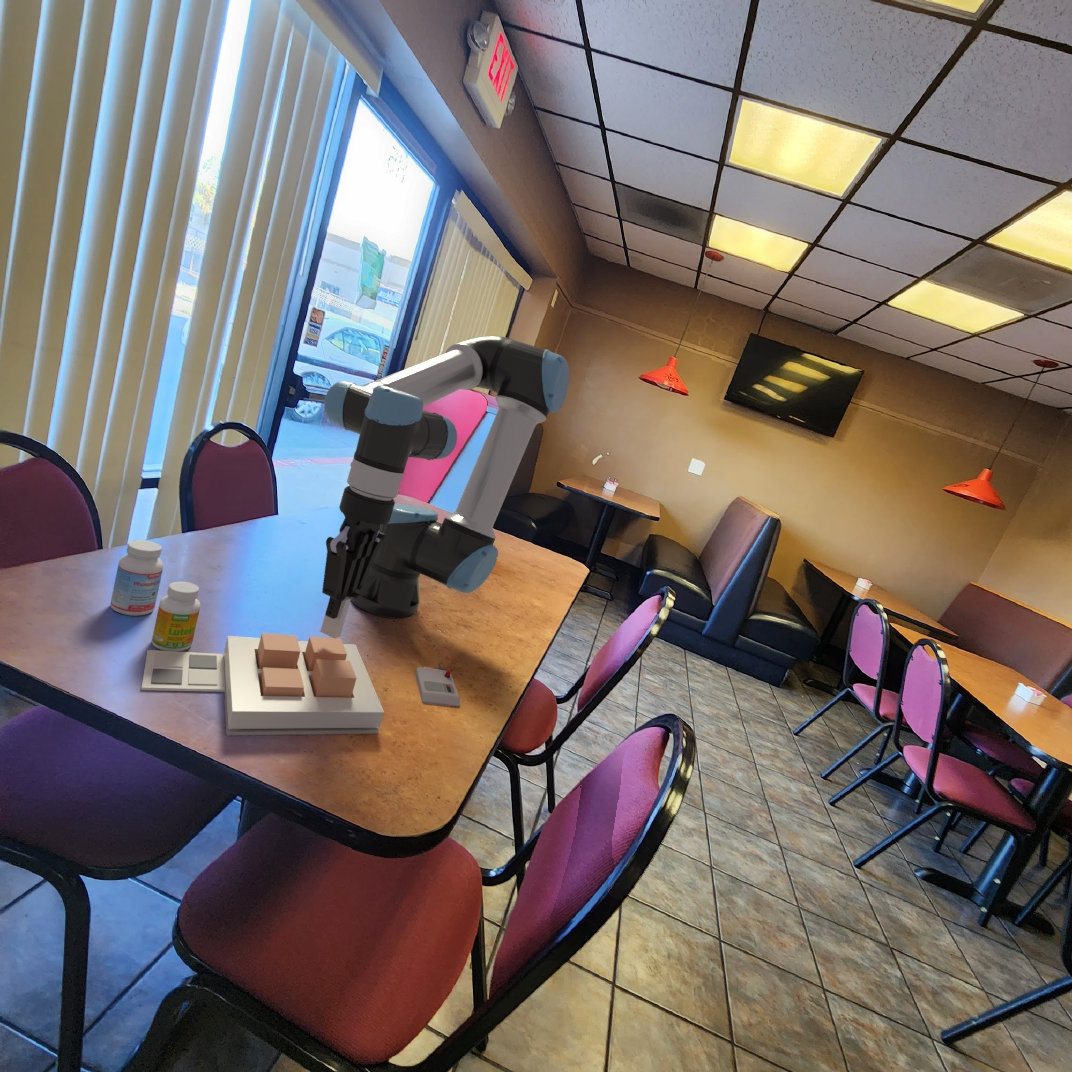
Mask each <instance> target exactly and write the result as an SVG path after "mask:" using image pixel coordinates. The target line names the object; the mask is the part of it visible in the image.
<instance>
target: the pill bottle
mask: <svg viewBox="0 0 1072 1072" xmlns="http://www.w3.org/2000/svg"><path fill="white" fill-rule="evenodd" d="M126 547H127V548H126V553H127V554H125V555H122V556H121V557H120V559H119V560H118V564H117V568H116V569H117V570H116V574H115V579H114V583H113V588H112V589H113V590H112V595H111V600H110V608H111V610H114V611H115V612H117V613H119V614H122V615H126V616H135V617H136V616H137V617H138V616H144V615H147V614H150V613H152V612H153V611H154V610H155V607H156V603H157V597H158V594H159V590H160V589H159V588H160V585H161V579H162V575H163V570H164V562H163V561H162V559H160V557H161V554H162V550H163V547H162V546H161V544H158V543H157V542H154V541H150V540H143V539H142V540H141V539H137V540H131V541H129V542H127V546H126Z"/></svg>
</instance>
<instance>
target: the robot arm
mask: <svg viewBox="0 0 1072 1072" xmlns="http://www.w3.org/2000/svg"><path fill="white" fill-rule="evenodd" d="M569 381H570V369H569V364H568V361H567V360H566V359H565V357H564V356H562V355H560V354H558V353H555V352H552V351H550V350H549V349H543V348H540V347H537V346H534V345H532V344H531V345H530V344H528V343H524V342H522V341H518V340H515V339H512V338H509V337H506V336H499V335H491V336H490V335H489V336H487V335H486V336H481V337H480V336H479V337H475V338H471V339H466V340H461V341H459V342H457V343H453V344H452V345H450V346H449V347H448V348H447V349H446V351H445V353H443V354H440V355H438V356H435V357H432V358H430V359H427V360H425V361H422V362H419V363H416V364H415V365H411V366H410V367H407V368H404V369H402V370H400V371H396V372H394V373H392V374H389V375H387V376H384V377H382V378H379V379H376V380H374V381H371V382H367V383H366V384H363V385H358V384H356V383H355V382H350V381H344V380H341V381H337V382H335V383H333V385H331V386H330V387H329V388H328V390H327V392H326V393H325V396H324V397H325V398H324V401H323V404H324V413H325V416H326V418H327V419H328V420H329V421H330V422H331V423H333V424H335V425H337V426H339V427H341V428H343V429H344V430H346V431H350V432H353V433H355V434H358V435H359V436H358V441H357V445H356V449H355V451H354V455H353V458H352V461H351V462H350V465H349V466H350V468H349V473H348V475H347V479H346V483H347V486H346V487H344V489H343V493H342V497H341V500H340V504H339V507H338V508H339V511H340V512H341V513H342V514H343V516H344V520H343V521H342V524H341V525H340V528H339V534H338V535H337V536H335V537H332V536H328V537H327V538H326V540H325V546H326V551H327V552H326V559H325V566H324V573H323V574H324V575H323V582H322V591H321V593H322V594H323V595H326V596H328V597H329V600H328V603H327V606H326V611H325V614H324V618H323V621H322V624H321V627H320V631H319V632H320V633H322V634H323V635H326V636H328V637H329V638H339V637H341V635H342V631H343V627H344V625H345V621H346V618H347V614H348V611H349V608H350V604H351V602H352V603H353V605H355V606H356V607H357V608H359V609H361V610H363V611H365V612H368V613H370V614H373V615H375V616H378V617H384V618H389V619H408V618H411V617H413V615H414V616H415V615H416V614H417V612H418V608H419V606H420V590H419V589H420V586H419V585H420V584H419V581H420V580H419V579H420V575H423V576H425V577H427V578H429V579H432V580H433V581H436V582H438V583H440V584H442V585H444V586H446V588H448V589H452V590H455V591H458V592H460V593H463V594H470V593H472V592H474V591H476V590H477V589H479V588H480V587H481V586H482V585H483V584H484V583H485V582H486V580H487V579H488V578H489V576H490V575H491V573H492V571H493V570H494V568H495V566H496V564H497V560H498V557H499V550H498V548H497V547H496V546H495V545H494V543H495V540H496V539H497V537H496V535H495V532H494V529H493V528H494V524H495V522H496V520H497V517H498V516H499V514H500V511H501V508H502V506H503V503H504V501H505V499H506V497H507V495H508V492H509V490H510V488H511V485H512V482H513V480H514V478H515V475H516V473H517V471H518V468H519V465H520V463H521V461H522V459H523V456H524V455H525V452H526V450H527V447H528V444H529V443H530V439H531V438H532V435H533V432H534V430H535V429H536V426H537V425H538V424H540V423H543V422H546V421H547V418H548V415H549V413H552V414H553V413H558V412H559V411H560V410H561V408H563V405H564V402H565V401H566V397H567V393H568V390H569V389H568V387H569ZM475 388H480V389H485V390H489V391H492V392H494V393H497V394H496V396H495V401H496V404H497V406H498V410H497V411H496V412H497V413H496V414H495V417H494V419H493V422H492V424H491V427H490V428H489V431H488V434H487V436H486V438H485V440H484V442H483V445H482V447H481V450H480V452H479V455H478V457H477V459H476V462H475V465H474V466H473V469H472V471H471V473H470V475H469V478H468V481H467V483H466V485H465V487H464V491H463V492H462V495H461V497H460V500H459V502H458V504H457V507H456V509H455V511H454V512H452V513H450V514H448V515H445V517H444V519H443V520H442V523H440V522H438V520H439V514H438V512H436V511H434V510H432V509H430V508H427V507H422V506H418V505H413V504H403V503H396V502H395V500H394V498H396V497H398V494H399V491H400V488H401V484H402V481H403V477H404V474H405V470H406V466H407V464H408V461H409V458H414V459H415V458H416V459H421V460H422V459H423V460H427V461H434V460H442V459H445V458H447V457H448V456H450V454H451V453H452V452H453V451H454V450H455V448H456V446H457V442H458V432H457V431H458V430H457V429H456V426H455V424H454V422H453V421H452V420H451V419H449V418H448V417H446V416H444V415H442V414H439V413H437V412H431V411H427V410H424V407H426V406H428V405H430V404H432V403H435V402H436V401H438V400H440V399H443V398H445V397H447V396H449V395H451V394H453V393H455V392H457V391H459V390H462V391H470V390H472V389H475Z"/></svg>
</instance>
